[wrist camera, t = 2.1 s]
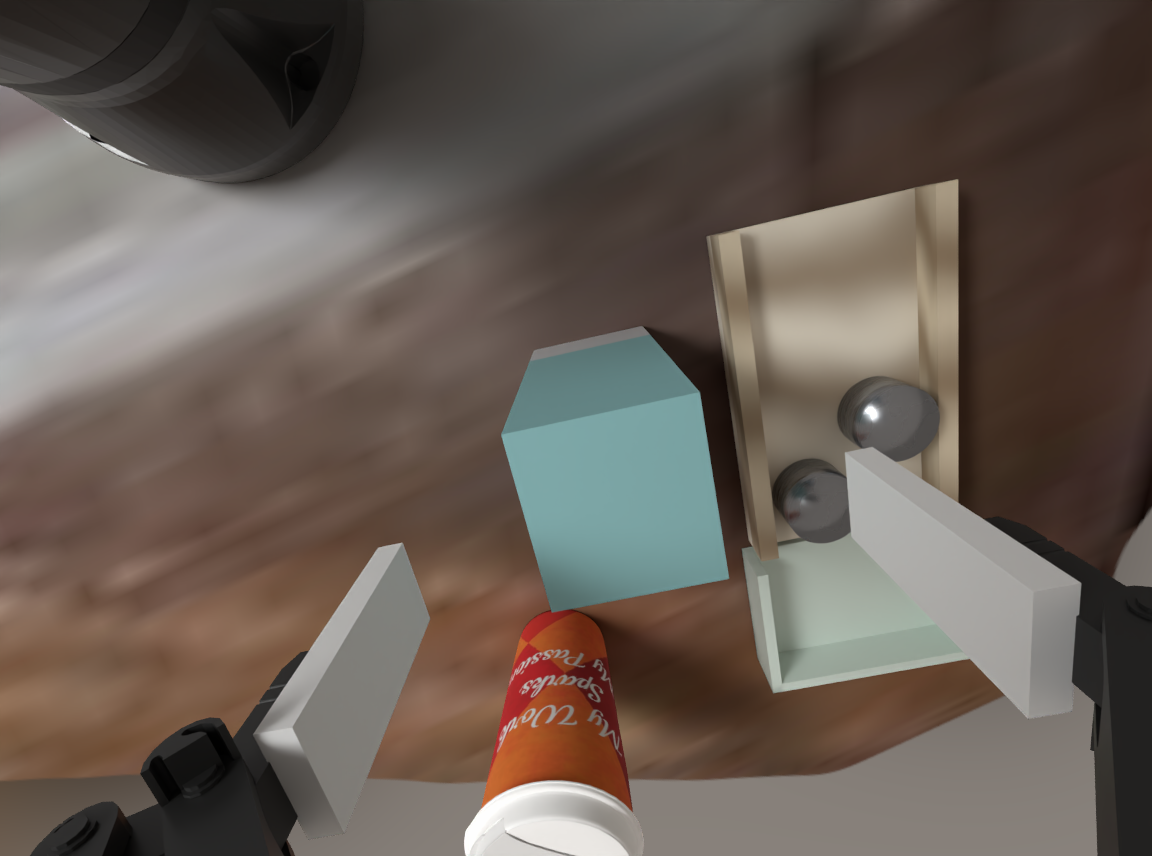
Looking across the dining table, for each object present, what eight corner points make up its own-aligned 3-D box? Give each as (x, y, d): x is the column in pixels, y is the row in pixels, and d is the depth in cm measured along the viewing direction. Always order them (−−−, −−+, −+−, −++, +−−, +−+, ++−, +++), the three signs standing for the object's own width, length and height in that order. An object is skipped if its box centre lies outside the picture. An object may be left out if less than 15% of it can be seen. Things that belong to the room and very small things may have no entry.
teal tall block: (533, 350, 29) (501, 434, 16) (642, 326, 29) (699, 392, 16) (561, 458, 32) (551, 612, 18) (663, 437, 31) (729, 578, 18)
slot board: (706, 236, 28) (718, 235, 25) (925, 185, 27) (958, 179, 25) (748, 540, 33) (761, 561, 31) (931, 504, 32) (958, 523, 30)
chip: (768, 466, 31) (785, 484, 28) (839, 451, 31) (861, 469, 28) (776, 527, 32) (792, 549, 30) (844, 514, 32) (865, 535, 29)
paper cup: (626, 598, 35) (659, 818, 21) (613, 693, 37) (636, 944, 24) (503, 590, 34) (459, 806, 21) (499, 686, 37) (456, 935, 23)
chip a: (834, 384, 29) (857, 396, 27) (909, 368, 29) (939, 379, 27) (839, 451, 31) (861, 469, 28) (911, 437, 30) (940, 453, 28)
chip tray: (741, 548, 33) (757, 576, 31) (939, 510, 33) (975, 534, 30) (757, 658, 36) (773, 693, 33) (941, 624, 35) (973, 657, 32)
